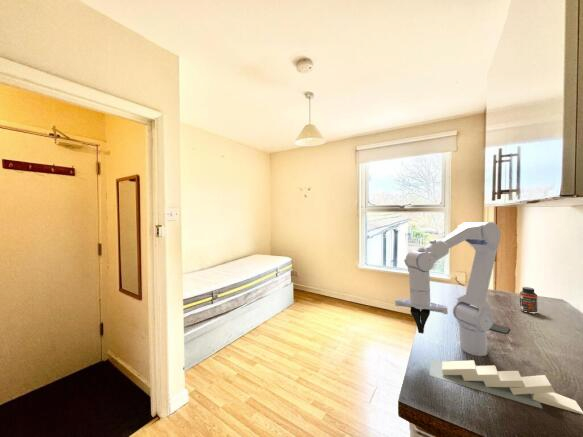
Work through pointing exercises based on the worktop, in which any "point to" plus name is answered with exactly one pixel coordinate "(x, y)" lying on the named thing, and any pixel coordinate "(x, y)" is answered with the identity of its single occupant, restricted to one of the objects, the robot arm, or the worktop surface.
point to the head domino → (459, 368)
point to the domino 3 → (533, 385)
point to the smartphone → (500, 329)
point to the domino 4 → (557, 401)
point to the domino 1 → (484, 374)
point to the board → (481, 385)
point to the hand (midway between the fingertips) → (421, 331)
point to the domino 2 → (507, 380)
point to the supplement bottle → (528, 300)
